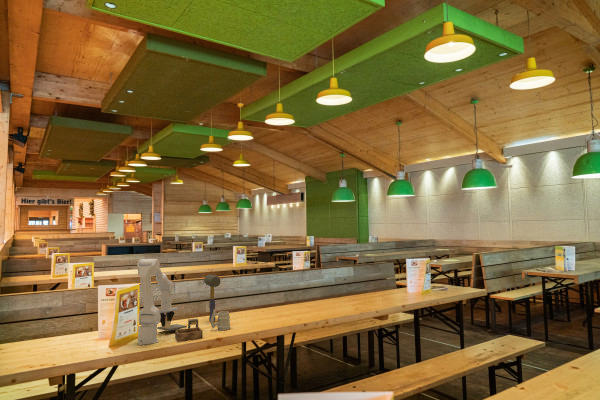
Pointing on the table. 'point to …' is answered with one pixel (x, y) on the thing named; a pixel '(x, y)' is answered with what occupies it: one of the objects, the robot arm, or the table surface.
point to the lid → (171, 326)
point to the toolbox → (189, 332)
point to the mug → (221, 320)
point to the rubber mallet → (212, 291)
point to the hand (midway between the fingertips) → (165, 325)
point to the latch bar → (193, 322)
